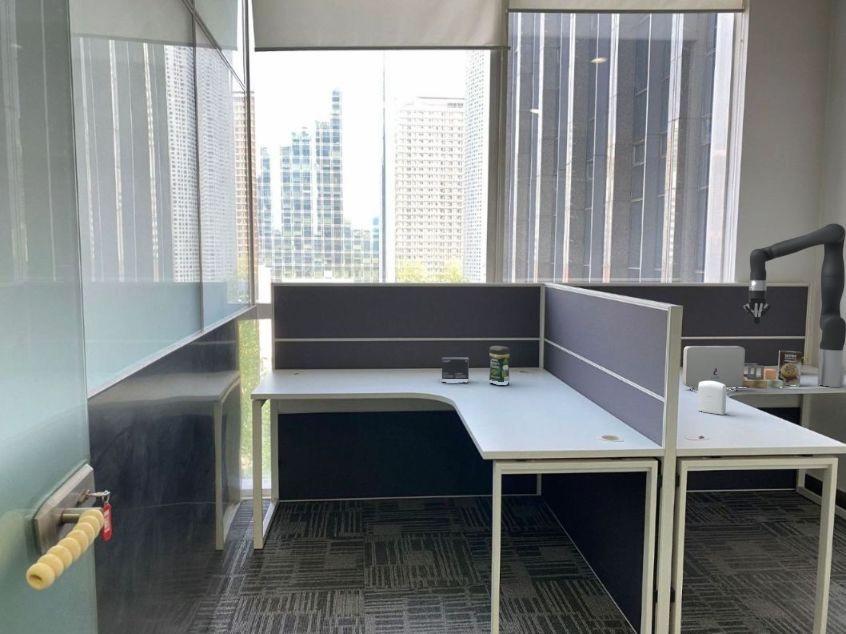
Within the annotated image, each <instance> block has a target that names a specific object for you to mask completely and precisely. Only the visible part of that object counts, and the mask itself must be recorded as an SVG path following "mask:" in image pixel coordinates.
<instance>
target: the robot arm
mask: <svg viewBox="0 0 846 634" xmlns="http://www.w3.org/2000/svg"><path fill="white" fill-rule="evenodd" d="M845 240H846V229H845V228H844V226H843V225H842V224H839V223H829V224H826V225H825V226H822V228H818V229H817V230H815V231H813V232H810V233H807V234H804V235H800V236H797V237H794V238H789V239H786V240H783V241H779V242H776V243H774V244H772V245H768V246H765V247H762V248H756V249H753V250H752V251H751V252H750V254H749V266H750V274H749V285H748V301H747V304H745V305H742V308H743V310H745V312H746V313H747V315H748V316H751V317H752V324H753V325H756V326H757V325H759V324H760V321H761V317H764V316H765V315H766V314H767V312H768V311H769V310H770V309H771V308H772V306H771V305H769V304H768V303H767V301H766V300H767V269H766V262H768V261H771V260H774V259H777V258H782V257H785V256H790V255H792V254H795V253H797V252H800V251H803V250H806V249H809V248H813V247H816V246H822V245H823V252H824V254H823V261H822V266H821V269H820V295H821V296H820V298H821V309H820V316H819V322H818V323H819V328H820V330H821V341H820V343H819V352H818V368H817V369H818V370H817V385H818V384H820V385H823V386H822V387H825V386H829V387H828V388H840V387H844V378H845V366H844V365H843V360H844V359H843V358H844V346H845V344H846V320H845V319H844V318H843V317H842V316H841V302H842V298H843V295H844V291H845V285H846V284H845V281H846V279H845V278H846V275H845V273H846V272H845V260H844V248H845V247H844V246H845ZM820 385H819V386H820Z"/></svg>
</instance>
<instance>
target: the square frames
mask: <svg viewBox="0 0 846 634" xmlns="http://www.w3.org/2000/svg"><path fill="white" fill-rule="evenodd" d="M744 366H746V367H747V373H744V377H747V379H750V380H764V369H765V366H764V365H758V363H754V362H753V363H746V362H744ZM752 369H753V373H751V372H752V371H751V370H752ZM757 369H760V375H761V377H756V375H758V374H757Z"/></svg>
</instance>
